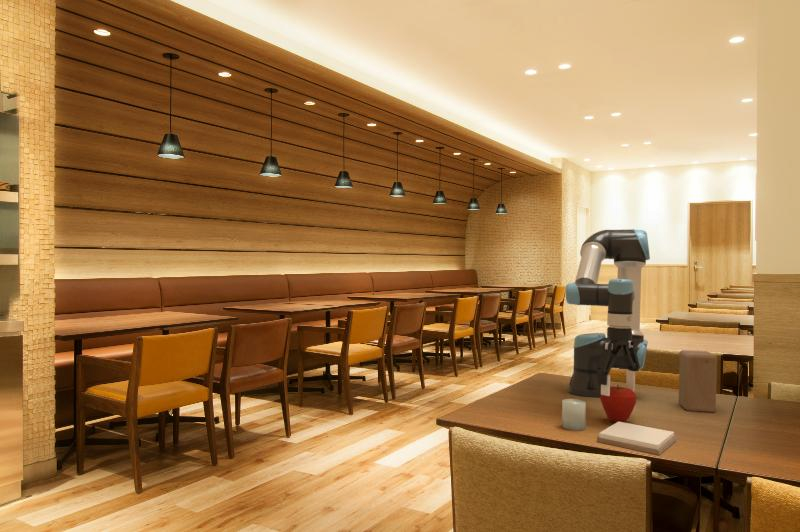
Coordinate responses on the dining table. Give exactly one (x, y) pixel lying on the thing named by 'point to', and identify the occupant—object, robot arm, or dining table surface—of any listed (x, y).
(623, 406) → the apple
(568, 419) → the white pillar candle
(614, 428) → the stand
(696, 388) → the wooden block
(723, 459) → the dining table surface
